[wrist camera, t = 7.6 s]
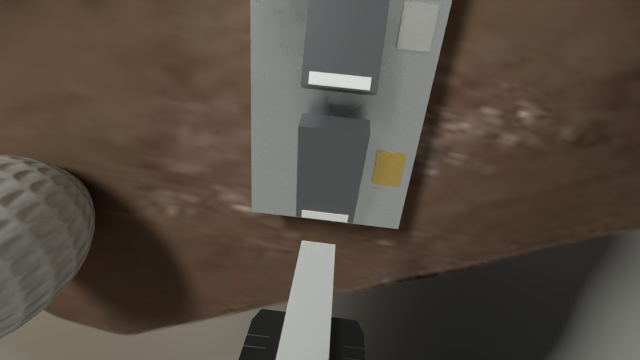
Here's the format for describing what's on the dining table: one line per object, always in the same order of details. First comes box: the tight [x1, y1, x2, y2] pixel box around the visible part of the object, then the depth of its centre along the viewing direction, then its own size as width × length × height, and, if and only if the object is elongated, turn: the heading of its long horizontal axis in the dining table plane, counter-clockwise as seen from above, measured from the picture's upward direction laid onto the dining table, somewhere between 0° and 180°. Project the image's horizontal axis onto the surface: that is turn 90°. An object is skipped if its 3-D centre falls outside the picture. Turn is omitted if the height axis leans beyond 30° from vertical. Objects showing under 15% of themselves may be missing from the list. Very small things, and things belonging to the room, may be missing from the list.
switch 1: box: [301, 0, 390, 96], centre depth 20 cm, size 9×5×2 cm, turn 175°
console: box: [251, 0, 452, 229], centre depth 24 cm, size 34×14×6 cm, turn 175°
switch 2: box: [296, 113, 370, 223], centre depth 25 cm, size 9×5×2 cm, turn 175°
